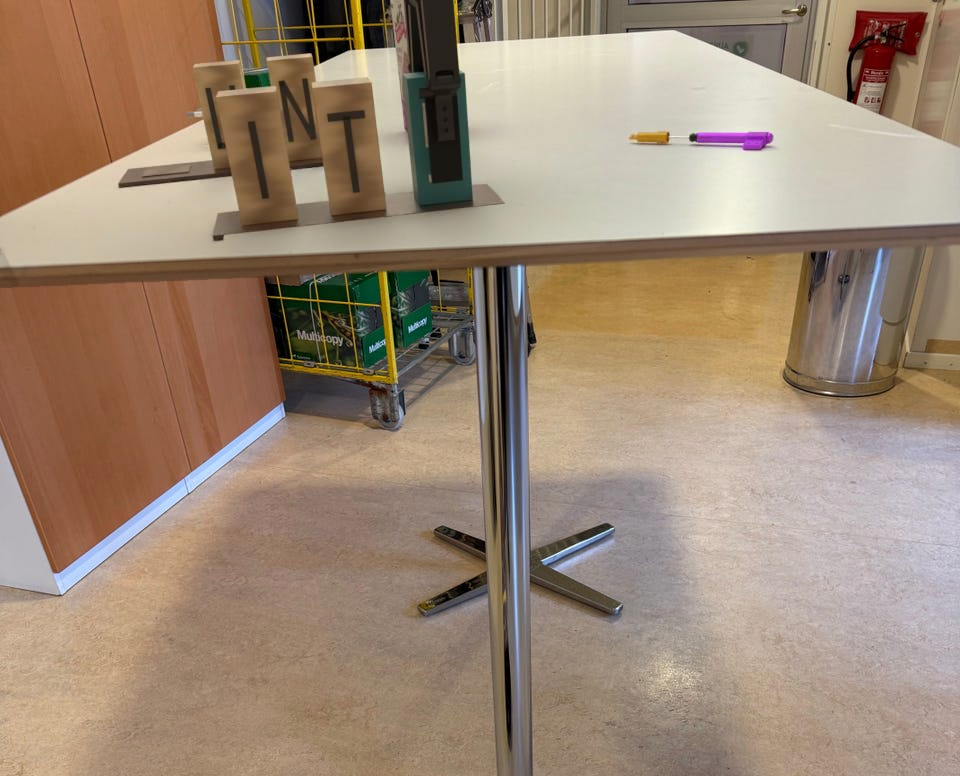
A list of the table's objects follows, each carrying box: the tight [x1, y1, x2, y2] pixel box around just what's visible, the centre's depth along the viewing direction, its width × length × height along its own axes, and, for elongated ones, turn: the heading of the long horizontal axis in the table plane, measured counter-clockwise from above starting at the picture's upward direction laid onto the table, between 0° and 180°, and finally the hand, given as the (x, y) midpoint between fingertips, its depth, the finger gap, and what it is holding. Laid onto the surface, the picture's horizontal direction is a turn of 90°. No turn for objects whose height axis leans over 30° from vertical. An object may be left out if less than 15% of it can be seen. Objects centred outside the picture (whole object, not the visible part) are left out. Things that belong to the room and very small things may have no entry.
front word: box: [212, 76, 506, 241], centre depth 82 cm, size 26×9×10 cm, turn 100°
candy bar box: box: [389, 0, 409, 132], centre depth 112 cm, size 11×5×16 cm, turn 15°
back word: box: [117, 53, 323, 188], centre depth 104 cm, size 26×9×10 cm, turn 100°
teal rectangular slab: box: [402, 69, 473, 206], centre depth 82 cm, size 5×4×10 cm
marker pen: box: [628, 130, 774, 151], centre depth 99 cm, size 3×1×16 cm
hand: (440, 172), depth 84 cm, fingers open, 7 cm apart
